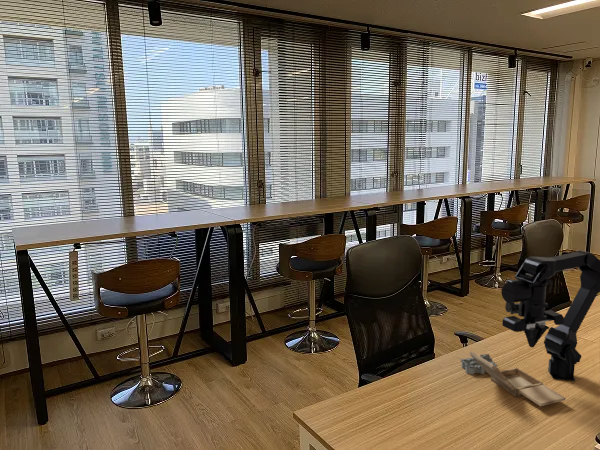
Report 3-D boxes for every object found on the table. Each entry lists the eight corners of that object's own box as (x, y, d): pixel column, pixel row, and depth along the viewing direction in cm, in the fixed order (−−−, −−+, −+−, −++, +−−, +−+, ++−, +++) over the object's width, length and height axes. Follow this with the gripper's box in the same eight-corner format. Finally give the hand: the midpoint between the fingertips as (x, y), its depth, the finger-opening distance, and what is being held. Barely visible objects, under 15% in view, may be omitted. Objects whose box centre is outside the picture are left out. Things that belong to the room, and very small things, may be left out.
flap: (492, 372, 152) (471, 350, 148) (515, 387, 142) (493, 364, 138) (489, 375, 152) (468, 353, 148) (512, 390, 142) (491, 367, 138)
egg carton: (489, 364, 164) (490, 353, 163) (499, 375, 157) (499, 363, 156) (458, 365, 164) (459, 353, 163) (466, 375, 156) (467, 363, 156)
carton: (516, 374, 156) (516, 367, 155) (566, 405, 138) (566, 397, 137) (490, 380, 153) (491, 372, 152) (538, 412, 135) (539, 403, 134)
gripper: (538, 287, 156) (535, 333, 159) (491, 294, 151) (488, 341, 153) (567, 298, 146) (563, 346, 149) (517, 305, 140) (514, 355, 143)
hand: (531, 346), depth 149 cm, fingers closed
